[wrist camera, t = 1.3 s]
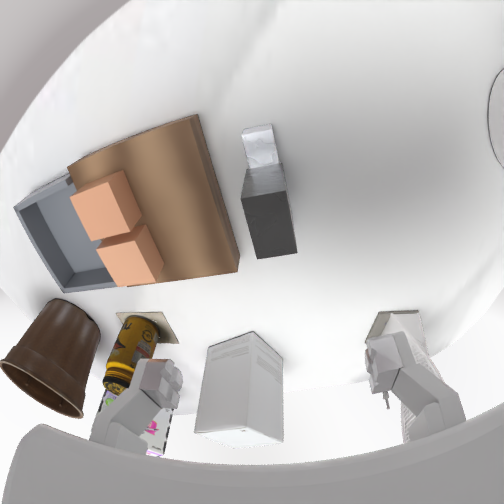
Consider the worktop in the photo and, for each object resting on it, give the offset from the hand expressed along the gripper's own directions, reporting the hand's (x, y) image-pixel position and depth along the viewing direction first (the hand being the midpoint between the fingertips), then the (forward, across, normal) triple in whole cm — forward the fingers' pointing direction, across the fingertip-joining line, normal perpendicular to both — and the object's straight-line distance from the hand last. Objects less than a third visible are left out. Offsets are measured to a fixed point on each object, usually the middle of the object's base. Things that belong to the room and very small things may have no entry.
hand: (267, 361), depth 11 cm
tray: (+20, +24, 0) cm, 31 cm away
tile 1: (+17, +15, +3) cm, 22 cm away
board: (+20, +12, 0) cm, 23 cm away
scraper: (+20, 0, 0) cm, 20 cm away
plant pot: (+20, +39, +17) cm, 47 cm away
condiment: (+20, +22, +19) cm, 36 cm away
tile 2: (+17, +15, -3) cm, 22 cm away
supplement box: (+20, +8, +27) cm, 35 cm away
